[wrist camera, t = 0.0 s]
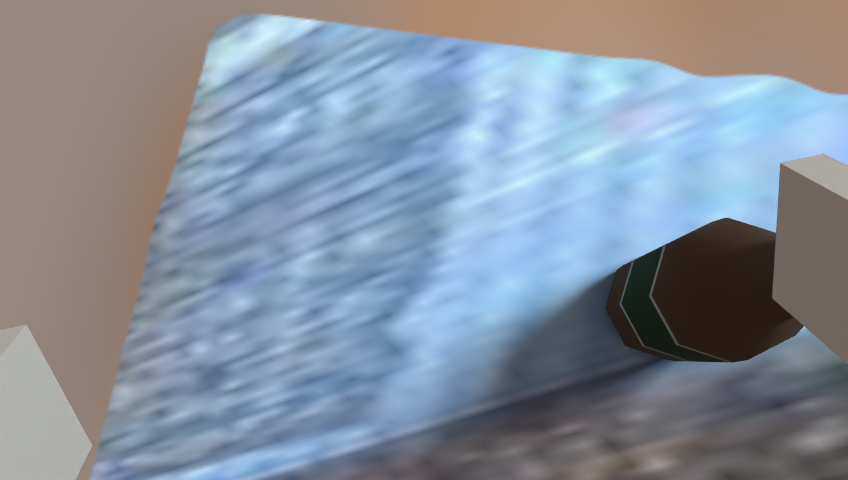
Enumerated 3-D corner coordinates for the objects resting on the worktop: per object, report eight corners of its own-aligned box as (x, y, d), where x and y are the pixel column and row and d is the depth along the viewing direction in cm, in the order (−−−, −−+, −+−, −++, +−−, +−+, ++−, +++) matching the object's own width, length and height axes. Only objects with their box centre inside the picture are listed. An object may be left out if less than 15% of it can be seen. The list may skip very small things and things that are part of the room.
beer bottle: (704, 248, 48) (963, 144, 24) (719, 357, 46) (1009, 359, 23) (596, 255, 48) (750, 158, 24) (608, 364, 46) (784, 373, 23)
